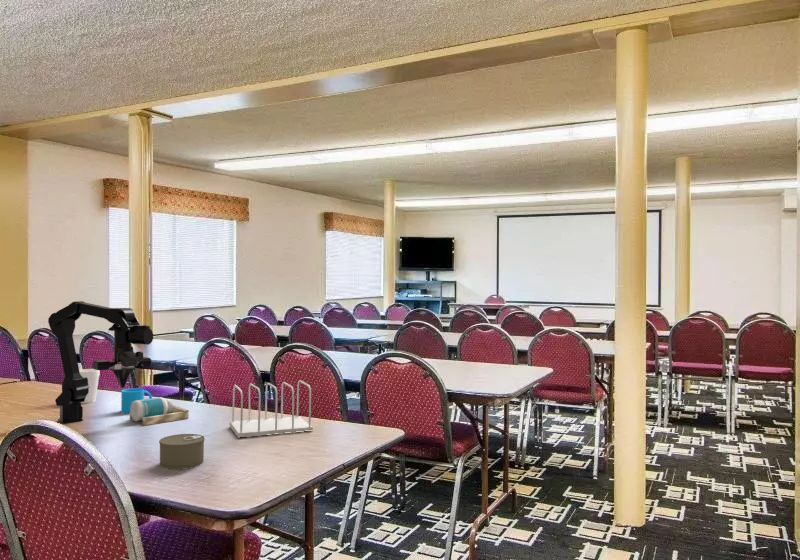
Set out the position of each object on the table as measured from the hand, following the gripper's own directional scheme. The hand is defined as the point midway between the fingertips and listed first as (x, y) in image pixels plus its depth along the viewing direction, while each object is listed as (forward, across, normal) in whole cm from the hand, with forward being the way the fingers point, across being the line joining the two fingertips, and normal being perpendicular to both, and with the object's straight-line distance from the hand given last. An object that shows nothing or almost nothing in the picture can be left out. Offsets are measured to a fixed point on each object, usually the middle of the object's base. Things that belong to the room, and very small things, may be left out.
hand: (122, 387), depth 222 cm
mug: (+13, +14, +20) cm, 27 cm away
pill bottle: (+9, +4, 0) cm, 10 cm away
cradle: (+13, +12, -1) cm, 18 cm away
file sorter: (+13, +34, -42) cm, 56 cm away
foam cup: (+13, +5, +51) cm, 53 cm away
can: (+13, -6, -59) cm, 61 cm away
